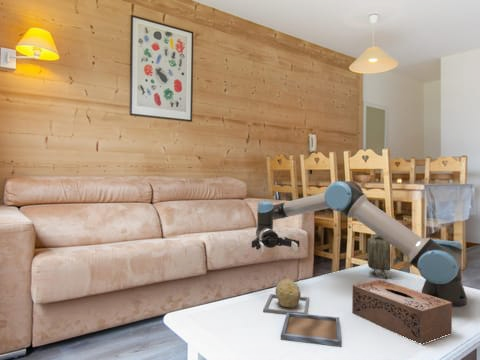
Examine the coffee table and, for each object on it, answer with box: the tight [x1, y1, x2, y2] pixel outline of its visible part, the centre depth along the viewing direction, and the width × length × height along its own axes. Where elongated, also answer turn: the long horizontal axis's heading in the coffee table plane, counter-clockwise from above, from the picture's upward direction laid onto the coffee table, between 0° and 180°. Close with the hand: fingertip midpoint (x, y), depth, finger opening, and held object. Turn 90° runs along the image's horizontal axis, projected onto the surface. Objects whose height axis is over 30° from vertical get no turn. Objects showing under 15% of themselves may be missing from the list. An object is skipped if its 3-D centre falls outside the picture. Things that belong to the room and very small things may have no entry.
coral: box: [274, 278, 302, 308], centre depth 128 cm, size 10×10×10 cm
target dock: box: [280, 312, 342, 348], centre depth 108 cm, size 17×17×1 cm
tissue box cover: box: [351, 279, 453, 344], centre depth 113 cm, size 26×14×10 cm, turn 29°
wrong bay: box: [262, 293, 310, 316], centre depth 127 cm, size 15×16×1 cm
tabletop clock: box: [366, 233, 392, 280], centre depth 167 cm, size 14×9×25 cm, turn 164°
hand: (280, 248), depth 137 cm, fingers open, 13 cm apart
